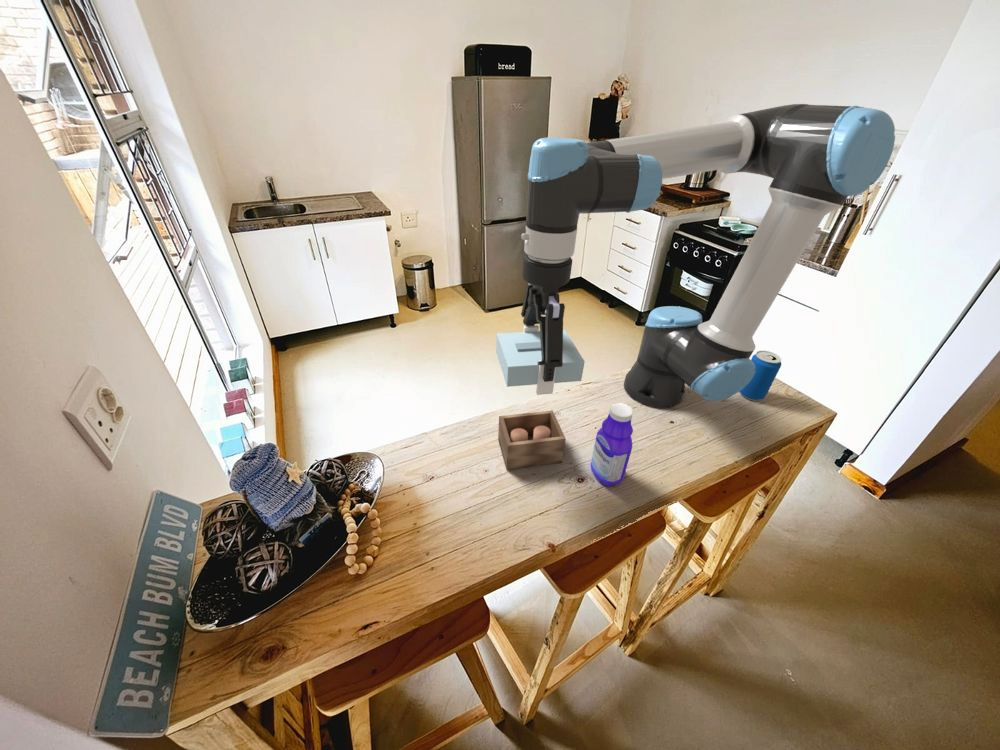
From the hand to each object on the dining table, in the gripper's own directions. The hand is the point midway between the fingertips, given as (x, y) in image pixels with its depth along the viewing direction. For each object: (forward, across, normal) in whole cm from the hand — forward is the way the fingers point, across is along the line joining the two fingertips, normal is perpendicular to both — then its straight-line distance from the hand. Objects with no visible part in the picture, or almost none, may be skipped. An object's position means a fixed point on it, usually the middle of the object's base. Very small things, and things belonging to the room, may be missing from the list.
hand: (536, 373), depth 75 cm
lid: (-2, 0, 0) cm, 2 cm away
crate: (+22, -2, +1) cm, 22 cm away
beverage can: (+22, -14, +64) cm, 69 cm away
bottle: (+22, +7, +15) cm, 28 cm away
